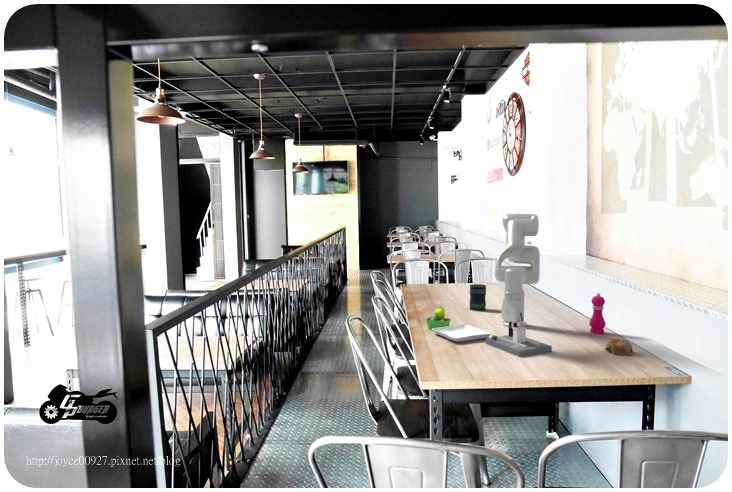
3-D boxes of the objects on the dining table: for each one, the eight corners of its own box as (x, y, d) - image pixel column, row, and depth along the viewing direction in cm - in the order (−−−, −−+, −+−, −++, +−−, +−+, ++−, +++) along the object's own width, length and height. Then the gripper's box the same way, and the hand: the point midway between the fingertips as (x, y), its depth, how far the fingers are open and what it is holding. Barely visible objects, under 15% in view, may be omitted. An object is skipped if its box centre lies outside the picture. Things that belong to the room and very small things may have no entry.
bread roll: (626, 365, 201) (636, 349, 198) (602, 351, 205) (611, 335, 203) (628, 358, 209) (637, 343, 207) (604, 345, 214) (613, 330, 211)
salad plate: (430, 334, 238) (430, 327, 238) (466, 330, 246) (466, 323, 246) (454, 345, 219) (454, 337, 218) (492, 340, 227) (492, 333, 227)
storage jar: (487, 311, 291) (487, 286, 290) (471, 311, 291) (471, 286, 290) (483, 307, 301) (484, 284, 300) (468, 307, 301) (468, 284, 300)
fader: (512, 342, 213) (512, 327, 212) (521, 340, 215) (522, 326, 215) (516, 343, 210) (516, 328, 210) (526, 342, 212) (526, 327, 212)
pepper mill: (607, 334, 235) (608, 294, 234) (591, 334, 236) (592, 293, 235) (602, 331, 242) (604, 291, 241) (587, 330, 244) (588, 291, 242)
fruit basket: (425, 329, 247) (425, 307, 246) (431, 325, 255) (431, 304, 254) (446, 331, 242) (446, 309, 241) (452, 327, 250) (452, 306, 249)
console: (485, 343, 220) (485, 335, 220) (516, 339, 227) (516, 331, 227) (519, 356, 200) (519, 347, 200) (551, 351, 207) (551, 342, 207)
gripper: (495, 294, 220) (495, 333, 222) (518, 299, 207) (517, 341, 208) (508, 292, 223) (507, 331, 225) (531, 298, 210) (530, 339, 211)
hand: (512, 336), depth 216 cm, fingers closed
